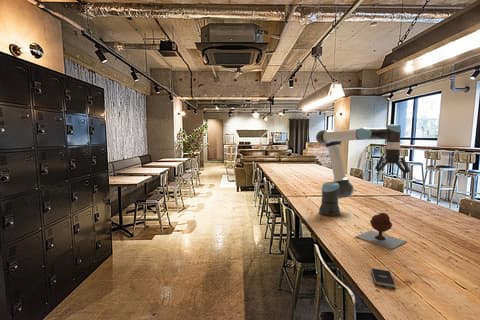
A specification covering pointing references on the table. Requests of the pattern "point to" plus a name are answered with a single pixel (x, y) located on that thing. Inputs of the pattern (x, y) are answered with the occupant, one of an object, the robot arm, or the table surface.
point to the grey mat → (388, 243)
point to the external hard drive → (383, 278)
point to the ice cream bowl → (381, 224)
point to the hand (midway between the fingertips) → (391, 181)
